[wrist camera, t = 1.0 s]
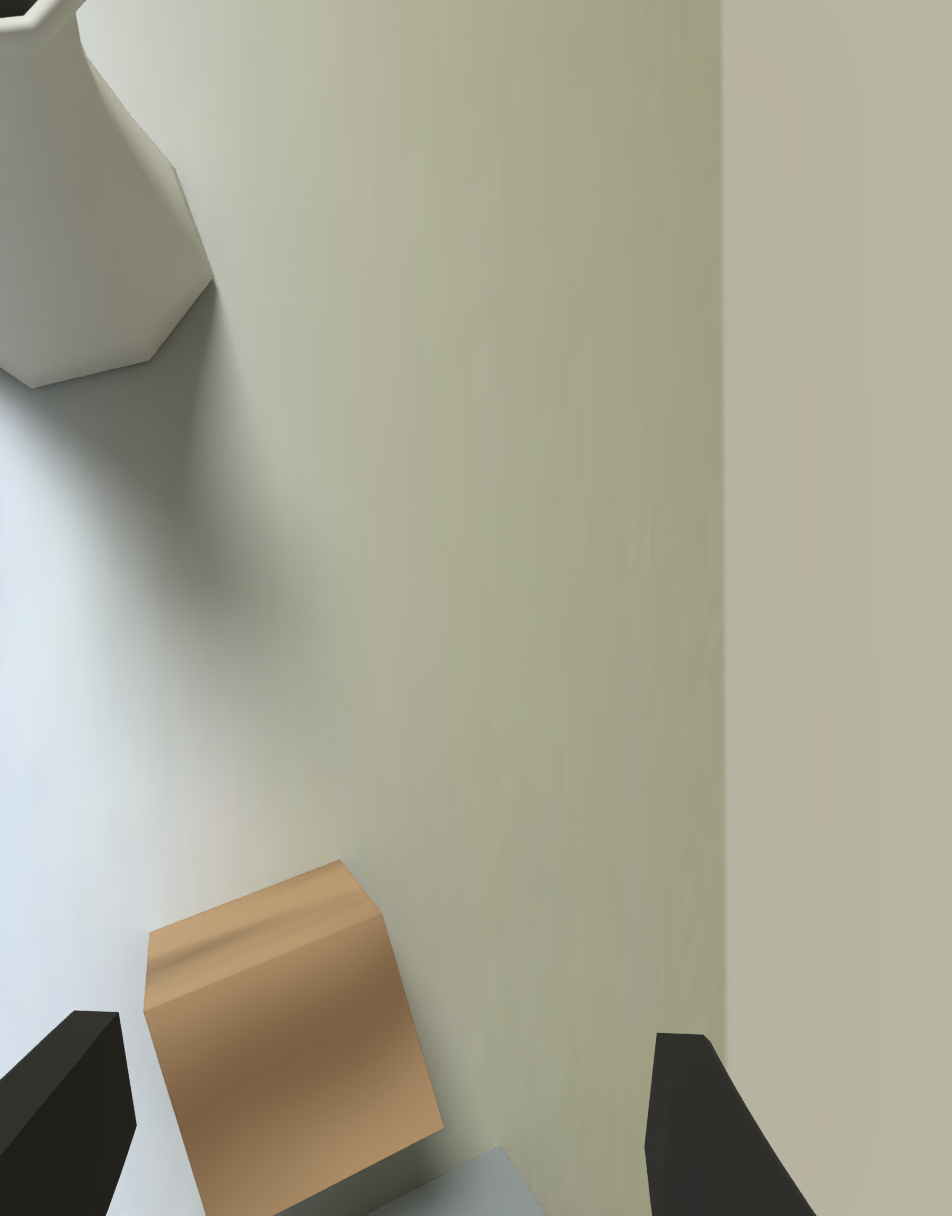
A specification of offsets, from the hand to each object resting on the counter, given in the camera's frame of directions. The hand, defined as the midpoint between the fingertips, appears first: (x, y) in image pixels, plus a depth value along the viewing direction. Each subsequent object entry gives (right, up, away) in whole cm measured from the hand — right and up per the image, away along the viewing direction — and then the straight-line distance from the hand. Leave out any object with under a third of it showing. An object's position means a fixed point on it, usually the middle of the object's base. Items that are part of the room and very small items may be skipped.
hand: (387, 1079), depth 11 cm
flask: (-9, +15, +10) cm, 21 cm away
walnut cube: (-4, -4, +11) cm, 12 cm away
